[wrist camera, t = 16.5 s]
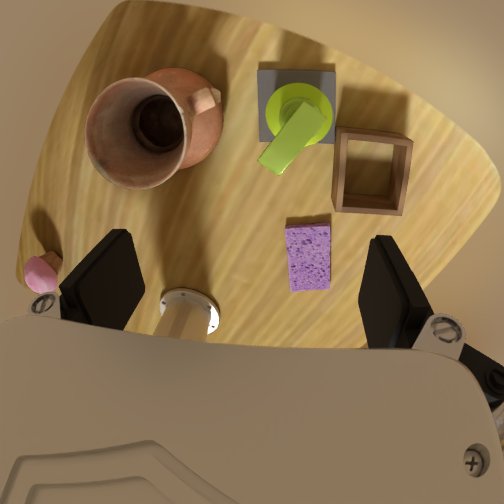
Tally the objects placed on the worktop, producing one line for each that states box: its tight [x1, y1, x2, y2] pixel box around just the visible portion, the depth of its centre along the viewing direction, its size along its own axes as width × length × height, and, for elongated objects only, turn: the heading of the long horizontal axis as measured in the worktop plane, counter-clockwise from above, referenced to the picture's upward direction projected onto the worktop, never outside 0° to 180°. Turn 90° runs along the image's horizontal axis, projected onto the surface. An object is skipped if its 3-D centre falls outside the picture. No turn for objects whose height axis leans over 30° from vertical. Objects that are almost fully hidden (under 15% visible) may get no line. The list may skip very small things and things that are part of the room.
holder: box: [331, 127, 413, 216], centre depth 36 cm, size 11×10×5 cm
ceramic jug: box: [84, 68, 223, 190], centre depth 31 cm, size 18×14×14 cm
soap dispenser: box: [257, 83, 333, 176], centre depth 26 cm, size 6×7×20 cm
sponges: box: [285, 222, 330, 292], centre depth 47 cm, size 7×13×2 cm, turn 9°
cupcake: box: [24, 251, 63, 294], centre depth 52 cm, size 9×9×10 cm
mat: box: [257, 70, 336, 144], centre depth 34 cm, size 10×10×1 cm
